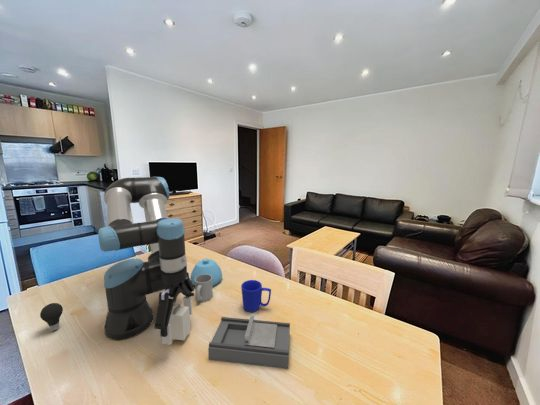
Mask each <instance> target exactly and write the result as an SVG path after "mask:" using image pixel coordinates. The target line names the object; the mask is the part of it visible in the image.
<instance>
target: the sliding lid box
mask: <svg viewBox="0 0 540 405" xmlns="http://www.w3.org/2000/svg"><path fill="white" fill-rule="evenodd" d="M249 320H250V318H238V317H228V316H227V317H226V316H221V318H220V323H219V325H218V327H217V328H216V331H215V333H214V335H213V337H212V338H211V341H209V343H208V349H207V350H208V351H207V352H208V360H211V361H220V362H227V363H236V364H245V365H246V364H247V365H252V366H253V365H255V366H264V367H272V368H280V369H289V360H290V358H289V356H290V354H289V353H290V336H291V334H290V332H291V331H290V329H291V323H290V322H283V321H281V322H279V321H270V320H269V321H268V320H259V319H254V322H255V323H266V324H277V331H276V340H275V348H274V349H271V348H262V347H252V346H245V333H246V330H247V327H248V323H249Z"/></svg>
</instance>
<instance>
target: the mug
mask: <svg viewBox="0 0 540 405" xmlns="http://www.w3.org/2000/svg"><path fill="white" fill-rule="evenodd" d="M240 288H241V297H242V306H243V308H244V310H245V311H247V312H255V311H258V310H259V308H260V307H261V306H262V307H267V306H268V305H269V304H270V301H271V295H272V289H271V288H268V287H263V285H262V283H261V281H259V280H256V279H249V280H245V281H243V283H241V286H240ZM263 291H264V292H268V299H267V301H266V303H263V302H262V294H263Z"/></svg>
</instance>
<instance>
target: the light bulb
mask: <svg viewBox="0 0 540 405" xmlns="http://www.w3.org/2000/svg"><path fill="white" fill-rule="evenodd" d="M63 309H64V308H63V306H62V304H60V303H58V302H53V303H52V302H51V303H49V304H46V305H44V307H43V308H42V309H41V311H40V315H39V316H40V319H41V320H42V321H44V322H45V323H46V324H47V325H48V327H49V330H50V331H51V332H53V331H57V330H58V329H59V328H60V318H61V317H62V314H63V311H64V310H63Z"/></svg>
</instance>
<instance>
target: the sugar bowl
mask: <svg viewBox="0 0 540 405" xmlns="http://www.w3.org/2000/svg"><path fill="white" fill-rule="evenodd" d="M202 274H208V275H211V276H212V287H214V286H216V285H218V284H219V283H220V282H221V280H222V279H223V272H222V270H221V267H220V266H219V264H218V263H217V262H216V261H215V260H213V259H210V258H204V259H201V260H199V261H198V262H196V264H195V265H194V267H193V269H192V271H191V274H190V277H189V278H190V280H191V283H192V285H193V286H195V278H196V277H197V276H199V275H202Z"/></svg>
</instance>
